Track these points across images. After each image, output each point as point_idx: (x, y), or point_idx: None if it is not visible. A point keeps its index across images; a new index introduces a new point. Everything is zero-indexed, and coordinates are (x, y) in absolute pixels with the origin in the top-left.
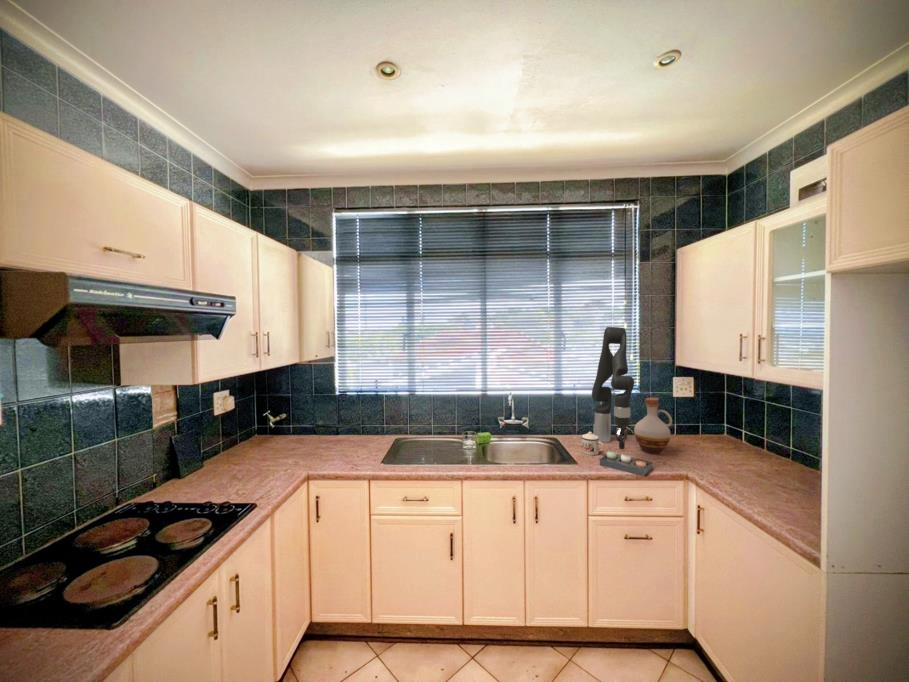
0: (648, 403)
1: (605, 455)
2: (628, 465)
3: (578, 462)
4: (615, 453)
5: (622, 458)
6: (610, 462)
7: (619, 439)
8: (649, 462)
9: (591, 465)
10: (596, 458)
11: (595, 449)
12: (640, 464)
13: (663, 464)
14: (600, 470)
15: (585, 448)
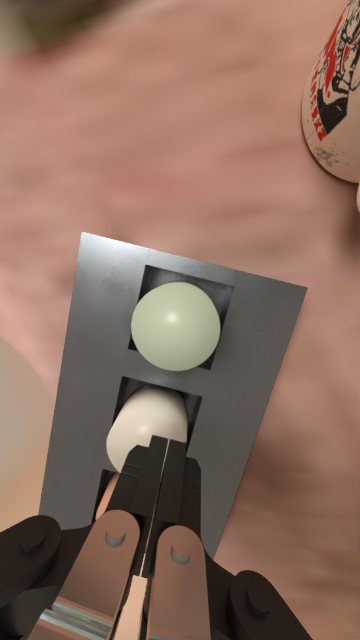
0: None
1: (205, 266)
2: (63, 440)
3: (71, 63)
4: (166, 366)
5: (119, 414)
6: (70, 321)
7: (2, 593)
8: None
9: (63, 182)
10: (237, 190)
11: (347, 142)
12: (97, 514)
13: (302, 581)
14: (6, 258)
15: (339, 18)
